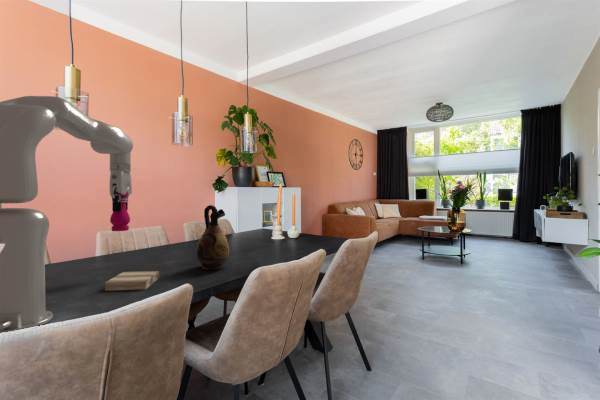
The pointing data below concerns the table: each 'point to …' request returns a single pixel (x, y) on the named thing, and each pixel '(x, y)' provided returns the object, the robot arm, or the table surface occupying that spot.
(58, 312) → the table surface
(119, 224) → the pepper mill
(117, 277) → the birch stand
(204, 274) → the table surface
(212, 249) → the ceramic jug
